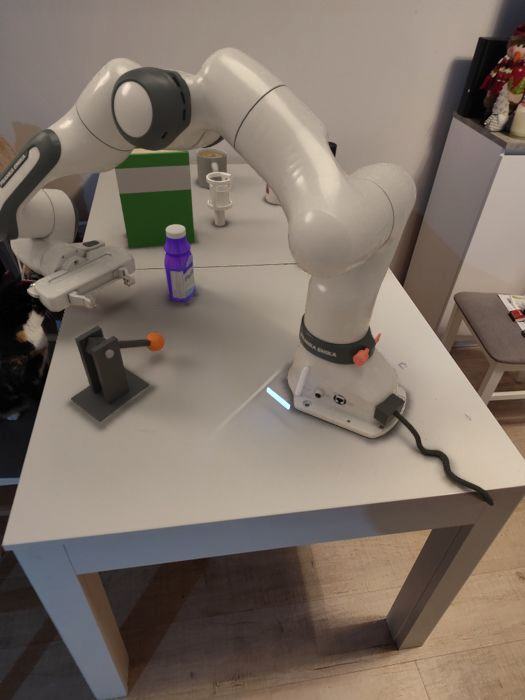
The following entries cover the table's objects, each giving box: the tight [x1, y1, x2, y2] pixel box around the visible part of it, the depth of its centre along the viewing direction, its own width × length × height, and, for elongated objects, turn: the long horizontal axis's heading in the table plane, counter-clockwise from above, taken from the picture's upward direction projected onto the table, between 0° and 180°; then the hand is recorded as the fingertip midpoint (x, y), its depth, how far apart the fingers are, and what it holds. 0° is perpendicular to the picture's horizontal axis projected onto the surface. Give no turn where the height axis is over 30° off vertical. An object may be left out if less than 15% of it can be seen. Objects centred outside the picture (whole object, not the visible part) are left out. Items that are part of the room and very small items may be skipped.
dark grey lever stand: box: [70, 325, 150, 423], centre depth 76 cm, size 11×8×14 cm
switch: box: [86, 332, 166, 356], centre depth 78 cm, size 16×4×4 cm, turn 143°
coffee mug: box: [196, 147, 228, 189], centre depth 150 cm, size 13×10×10 cm
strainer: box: [206, 172, 233, 227], centre depth 127 cm, size 7×7×15 cm
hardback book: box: [114, 147, 195, 249], centre depth 115 cm, size 18×7×24 cm, turn 105°
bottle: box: [163, 224, 196, 303], centre depth 98 cm, size 7×6×17 cm
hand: (113, 292), depth 86 cm, fingers open, 8 cm apart
